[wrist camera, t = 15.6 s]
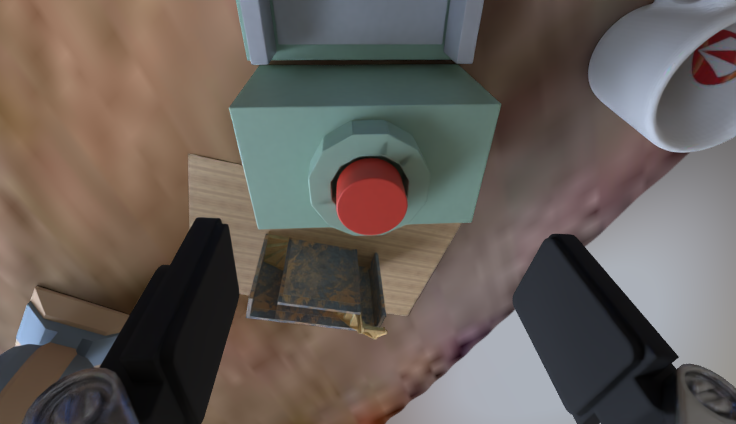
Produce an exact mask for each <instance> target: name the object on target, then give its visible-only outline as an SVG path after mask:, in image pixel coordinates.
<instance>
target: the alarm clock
mask: <svg viewBox="0 0 736 424" xmlns="http://www.w3.org/2000/svg"><path fill="white" fill-rule="evenodd" d="M129 316H130V315H128V314H125V313H122V312H118V311H115V310H112V309H109V308H106V307H102V306H99V305H96V304H93V303H90V302H87V301H83V300H80V299H77V298H74V297H71V296H67V295H64V294H61V293H58V292H54V291H51V290H48V289H45V288H42V287H38V286H36V287H35V289H34V292H33V295H32V298H31V300H30V302H29V303H28V304H27V307H26V310H25V313H24V316H23V318H22V321H21V324H20V327H19V330H18V333H17V336H16V339H17V341H16V344H15V345H16V347H13V348H11V349H9V350H7V351H6V352H4V353H3V354H1V355H0V424H21V423H22V421H23V419H24V417H25V414H26V412H27V410H28V409H29V407H30V406H31V405H32V403H33V402H34V401H35V400H36V398H37V397H38V396H39V395H40V394H41V393H42V392H44V391H45V390H46V389H47V388H48V387H49V386H50V385H52V384H53V383H55V382H57V381H58V380H60V379H61V378H63V377H65V376H67V375H69V374H72V373H74V372H77V371H79V370H83V369H88V368H93V367H96V368H99V367H100V365H101V364H102V362H103V360H104V359H105V357H106V355H107V353H108V352H109V350H110V348H111V347H112V345H113V343H114V341H115V340H116V338H117V336H118V335H119V333H120V331H121V329H122V328H123V326H124V324H125V323H126V321H127V319H128V317H129Z"/></svg>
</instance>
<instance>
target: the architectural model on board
mask: <svg viewBox="0 0 736 424" xmlns="http://www.w3.org/2000/svg"><path fill="white" fill-rule="evenodd" d="M188 174H189V230H190V228H191V226H192V224H193V222H194V221H195V219H196V218H198V217H205V218H220V219H221V221H222V224H228V225H229V230H230V236H231V242H232V248H233V254H234V261H235V267H236V273H237V279H238V285H239V294H244V295H249V299H248V306H247V313H246V318H251V319H259V320H268V321H277V322H285V323H294V324H302V325H311V326H320V327H328V328H337V329H345V330H354V331H358V333H362V334H364V335H366V336H369V337H371V338H373V339H377V338H378V337H380V336H382V335H385V334H387V330H386V331H385V327H383V328H381V325H382V323H383V321H384V319H385V317H386V313H389V314H396V315H404V316H407V315H408V314H409V312H410V310H411V309H412V307H413V305H414V303H415V302H416V300H417V298H418V297H419V295H420V293H421V292H422V290H423V288H424V286H425V285H426V283H427V281H428V280H429V278H430V276H431V274H432V273H433V271H434V269H435V268H436V266H437V264H438V263H439V261H440V259H441V257H442V256H443V254H444V252H445V251H446V249H447V247H448V246H449V244H450V242H451V240H452V239H453V237H454V235H455V234H456V232H457V230H458V228H459V227H460V225H461V223H438V224H408V225H404V226H402V227H399V228H397V229H395V230H393V231H391V232H389V233H386V234H383V235H367V236H353V235H351V234H348V233H346V232H343V231H341V230H338V229H336V228H333V227H319V228H290V229H260V230H259V229H258V227H257V222H256V218H255V214H254V210H253V206H252V202H251V197H250V193H249V189H248V185H247V181H246V177H245V172H244V168H243V165H238V164H234V163H229V162H224V161H220V160H215V159H210V158H206V157H201V156H196V155H192V154H188Z"/></svg>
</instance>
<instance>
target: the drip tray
mask: <svg viewBox="0 0 736 424" xmlns="http://www.w3.org/2000/svg"><path fill="white" fill-rule="evenodd" d="M236 3H237V8H238V14H239V19H240V24H241V29H242V35H243V40H244V45H245V51H246V56H247V60H251V64H252V65H268V64H269V63H270V61H271V60H453V61H454V62H455V63H456V64H472V63H473V58H474V52H475V47H476V42H477V36H478V31H479V25H480V20H481V15H482V9H483V4H484V0H236Z"/></svg>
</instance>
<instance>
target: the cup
mask: <svg viewBox="0 0 736 424" xmlns="http://www.w3.org/2000/svg"><path fill="white" fill-rule="evenodd" d="M588 79H589V84H590V87H591V89H592V91H593V92H594V94H595V95H596V97H597V98H598V99H599V100H600V101H601V102H603V103H604V104H605V105H606V106H607V107H609V108H610V109H611V110H612V111H613V112H615V113H616V114H617V115H618V116H620V117H621V118H622V119H623V120H625V121H626V122H627V123H628V124H630V125H631V126H632V127H633V128H635V129H636V130H637V131H638V132H639V133H641V134H642V135H643V136H644V137H646V138H647V139H648V140H649V141H651V142H652V143H653V144H655V145H656V146H658V147H660V148H662V149H665V150H667V151H672V152H682V153H683V152H693V151H700V150H704V149H707V148H711V147H713V146H716V145H719V144H721V143H724V142H726V141H728V140H730V139H732V138H734V137H736V0H655V1H654V2H653V4H649V5H646V6H643V7H640V8H638V9H636V10H633V11H632V12H630V13H628V14H627V15H625V16H623V17H622V18H621V19H619V20H618V21H617V22H616V23H615V24H613V25H612V26H611V27H610V28H609V29H608V30H607V31H606V33H605V34H604V35H603V36H602V38H601V39H600V41H599V42H598V44H597V45H596V47H595V49H594V51H593V53H592V56H591V59H590V62H589V68H588Z"/></svg>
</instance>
